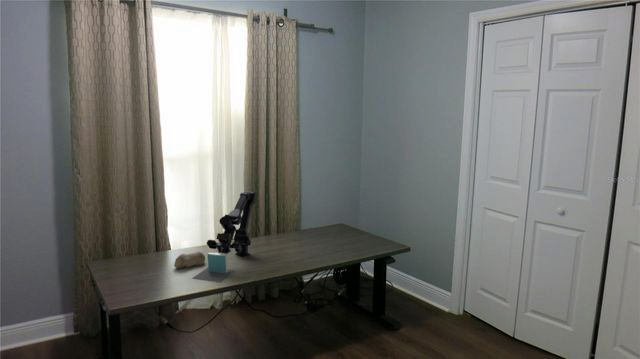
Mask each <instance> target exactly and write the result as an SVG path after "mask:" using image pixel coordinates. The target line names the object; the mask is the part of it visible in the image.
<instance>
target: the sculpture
mask: <svg viewBox="0 0 640 359" xmlns="http://www.w3.org/2000/svg"><path fill="white" fill-rule="evenodd" d="M205 262H206V257H205V254H204V253H203V252H201V251H196V252H192V253H188V254H187V253H181V254H180V255H178V256H177V258H175V261H174V264H173V266H174V268H175V269H176V270H179V269H182V268H190V267H192V266H203V265H204V263H205Z"/></svg>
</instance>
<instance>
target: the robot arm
mask: <svg viewBox="0 0 640 359" xmlns="http://www.w3.org/2000/svg"><path fill="white" fill-rule="evenodd" d="M258 198H259V196H258V193H257V192H256V191H250V190H245V191H244V192H240V194H239V198H238V199H237V202H236V203H235V204H236V205H235V206H234V208H233V210H231V211H230V212H229V213H228V214H225V215H224V216H223V215H222V216H221V218H219V224H220V226H221V227H222V229H223V232H222V233H221V232H219V233H218V232H217V234H216V240H218V241H216V240H215V239H208V240H207V241H206V242H205V243H206V245H207V247H208V248H209V249H211V250H212V249H213V250H216V249H217V253H225V254H229V253H232V249H234V251H235V252H236V253H234V255H236V256H238V257H239V256H240V257H245V256H248V255H250V254H251V253H250V252H249V246H251V245H252V240H251V238H250V232H249V231H248V228H249V224H250V219H251V213H252V208H253V206H254V205H255V204H256V202H257V200H258ZM238 225H239V227H238V228H237V227H236V226H238ZM232 241H233V242H232Z"/></svg>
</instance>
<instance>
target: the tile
mask: <svg viewBox="0 0 640 359" xmlns="http://www.w3.org/2000/svg"><path fill="white" fill-rule="evenodd" d="M228 254H229V253H228ZM228 254H225V253H218V251H217V252H216V251H209V252H208V253H207V268H208V271H210V272H217V273H225V274H226V273H227V272H228V270H229V258H228V256H229V255H228Z"/></svg>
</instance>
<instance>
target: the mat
mask: <svg viewBox="0 0 640 359" xmlns="http://www.w3.org/2000/svg"><path fill="white" fill-rule="evenodd" d="M235 272H236V270H234V269H228V272H227V273H226V274H225V273H217V272H210V271H208V267H206V268H205V269H203V270H202V271H200V272H199V273H198V274H196V275H194V276H193V277H192V278H191V280H192V279H193V280H197V281H204V282H207V281H208V282H211V283H222V282H224V281H225V280H226V279H227V278H229V277H230V276H231V275H232V274H233V273H235Z"/></svg>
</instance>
